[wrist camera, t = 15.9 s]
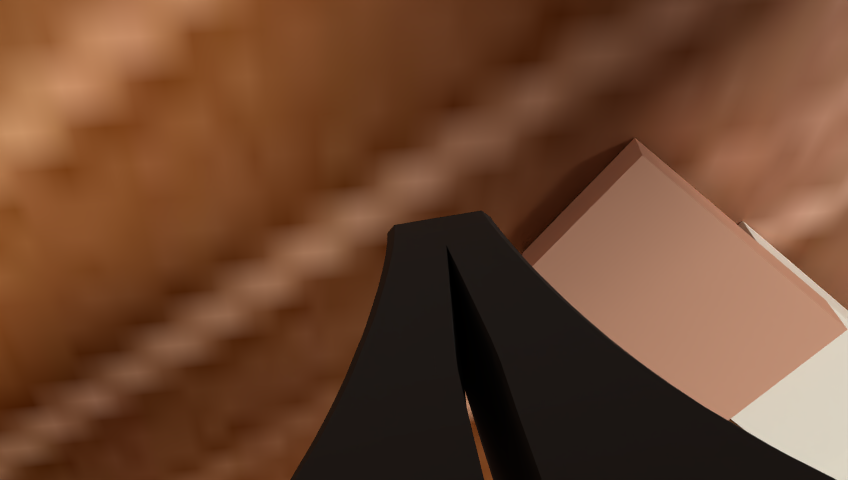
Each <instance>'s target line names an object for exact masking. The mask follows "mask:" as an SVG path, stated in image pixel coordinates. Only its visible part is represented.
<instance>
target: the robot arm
mask: <svg viewBox="0 0 848 480" xmlns="http://www.w3.org/2000/svg"><path fill="white" fill-rule="evenodd" d="M465 392H466V395H467V398H468V401H469V405H470V408H471V411H472V414H473V417H474V420H475V424H476V427H477V430H478V433H479V436H480V440H481V443H482V446H483V449H484V452H485V455H486V458H487V462H488V465H489V468H490V471H491V474H492V477H493V480H836V479H834V478H832V477H830V476H829V475H827V474H825V473H823V472H821V471H819V470H817V469H815V468H813V467H811V466H809V465H807V464H805V463H803V462H801V461H799V460H797V459H795V458H793V457H791V456H789V455H787V454H785V453H783V452H782V451H780V450H778V449H776V448H774V447H773V446H771V445H769V444H767V443H766V442H764V441H762V440H760V439H759V438H757V437H755V436H754V435H752V434H750V433H749V432H747V431H745V430H743V429H742V428H740V427H738V426H737V425H735V424H733V423H732V422H730V421H728V420H726V419H725V418H723V417H721V416H720V415H718V414H716V413H714V412H713V411H711V410H709V409H708V408H706V407H704V406H703V405H701V404H700V403H698V402H697V401H695V400H694V399H692V398H691V397H689V396H688V395H686V394H685V393H683V392H682V391H680V390H679V389H677V388H676V387H674V386H673V385H671V384H670V383H668V382H667V381H665V380H664V379H663V378H661V377H660V376H658V375H657V374H656V373H654V372H653V371H652V370H650V369H649V368H647V367H646V366H645V365H643V364H642V363H640V362H639V361H638V360H636V359H635V358H634V357H633V356H631V355H630V354H629V353H627V352H626V351H625V350H624V349H622V348H621V347H620V346H619V345H617V344H616V343H615V342H614V341H612V340H611V339H610V338H609V337H607V336H606V335H605V334H604V333H603V332H602V331H600V330H599V329H598V328H597V327H596V326H595V325H593V324H592V323H591V322H590V321H589V320H588V319H586V318H585V317H584V316H583V315H582V314H581V313H580V312H579V311H577V310H576V309H575V308H574V307H573V306H572V305H571V304H570V303H569V302H568V301H566V300H565V299H564V298H563V297H562V296H561V295H560V294H559V293H558V292H557V291H556V290H555V289H554V288H553V287H552V286H551V285H550V284H549V283H548V282H547V281H546V280H545V279H544V278H543V277H542V276H541V275H540V274H539V273H538V272H537V271H536V270H535V269H534V268H533V267H532V266H531V265H530V264H529V263H528V262H527V260H526V259H525V258H524V257H523V256H522V255H521V254H520V253H519V252H518V251H517V249H516V248H515V247H514V246H513V245H512V244H511V243H510V241H509V240H508V239H507V238H506V237H505V235H504V234H503V233H502V232H501V231H500V229H499V228H498V227H497V226H496V224H495V223H494V222H493V220H492V219H491V217H490V216H488V215H487V214H486V213H484V212H483V211H476V212H470V213H464V214H458V215H452V216H446V217H440V218H434V219H428V220H422V221H416V222H410V223H404V224H398V225H394V226H393V227H392V229H391V230H390V231H389V232H388V238H387V250H386V256H385V262H384V266H383V271H382V275H381V279H380V282H379V286H378V290H377V293H376V296H375V299H374V303H373V306H372V309H371V312H370V315H369V318H368V321H367V324H366V327H365V330H364V333H363V335H362V338H361V340H360V343H359V345H358V348H357V350H356V352H355V355H354V357H353V360H352V362H351V365H350V367H349V369H348V372H347V374H346V377H345V379H344V381H343V383H342V386H341V388H340V390H339V392H338V394H337V396H336V398H335V400H334V402H333V404H332V406H331V408H330V410H329V412H328V414H327V416H326V418H325V420H324V422H323V424H322V426H321V428H320V430H319V431H318V433H317V435H316V437H315V439H314V441H313V442H312V444H311V446H310V448H309V449H308V451H307V453H306V454H305V456H304V458H303V459H302V461H301V463H300V465H299V466H298V468H297V470H296V471H295V473H294V475H293V476H292V478H291V480H484V478H483V474H482V469H481V465H480V461H479V457H478V453H477V449H476V445H475V441H474V437H473V432H472V428H471V424H470V420H469V416H468V411H467V407H466V397H465Z"/></svg>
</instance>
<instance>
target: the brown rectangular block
mask: <svg viewBox="0 0 848 480" xmlns="http://www.w3.org/2000/svg"><path fill="white" fill-rule="evenodd" d="M522 256H523V257H524V258H525V259H526V260H527V262H528V263H529V264H530V265H531V266H532V267H533V268H534V269H535V270H536V271H537V272H538V273H539V274H540V275H541V276H542V277H543V278H544V279H545V280H546V281H547V282H548V283H549V284H550V285H551V286H552V287H553V288H554V289H555V290H556V291H557V292H558V293H559V294H560V295H561V296H562V297H563V298H564V299H565V300H566V301H568V302H569V303H570V304H571V305H572V306H573V307H574V308H575V309H576V310H577V311H579V312H580V313H581V314H582V315H583V316H584V317H585V318H586V319H588V320H589V321H590V322H591V323H592V324H593V325H595V326H596V327H597V328H598V329H599V330H600V331H602V332H603V333H604V334H605V335H606V336H607V337H609V338H610V339H611V340H612V341H614V342H615V343H616V344H617V345H619V346H620V347H621V348H622V349H624V350H625V351H626V352H627V353H629V354H630V355H631V356H633V357H634V358H635V359H636V360H638V361H639V362H640V363H642V364H643V365H645V366H646V367H647V368H649V369H650V370H652V371H653V372H654V373H656V374H657V375H658V376H660V377H661V378H663V379H664V380H665V381H667V382H668V383H670V384H671V385H673V386H674V387H676V388H677V389H679V390H680V391H682V392H683V393H685V394H686V395H688V396H689V397H691V398H692V399H694V400H695V401H697V402H698V403H700V404H701V405H703V406H704V407H706V408H708V409H709V410H711V411H713V412H714V413H716V414H718V415H720V416H721V417H723V418H725V419H726V420H730V419H731V418H732V417H734V416H735V415H736V414H737V413H739V412H740V411H741V410H743V409H744V408H745V407H747V406H748V405H749V404H751V403H752V402H753V401H755V400H756V399H757V398H758V397H760V396H761V395H762V394H764V393H765V392H766V391H768V390H769V389H770V388H772V387H773V386H774V385H776V384H777V383H778V382H779V381H781V380H782V379H783V378H785V377H786V376H787V375H789V374H790V373H791V372H793V371H794V370H795V369H797V368H798V367H799V366H800V365H802V364H803V363H804V362H806V361H807V360H808V359H810V358H811V357H812V356H814V355H815V354H816V353H818V352H819V351H820V350H821V349H823V348H824V347H825V346H827V345H828V344H829V343H831V342H832V341H833V340H835V339H836V338H837V337H839V336H840V335H841V334H842V333H844V332H845V331H846V330H848V329H847V328H846V326H845V325H844V324H843V322H842V321H841V320H840V318H839V317H838V316H837V314H836V313H835V312H834V310H833V309H832V308H831V306H830V305H829V304H828V302H827V301H826V300H825V299H824V298H823V297H822V296H820V295H819V294H818V293H817V292H816V291H814V290H813V289H812V288H811V287H810V286H809V285H807V284H806V283H805V282H804V281H803V280H802V279H800V278H799V277H798V276H797V275H796V274H795V273H793V272H792V271H791V270H790V269H789V268H787V267H786V266H785V265H784V264H783V263H782V262H780V261H779V260H778V259H777V258H776V257H775V256H773V255H772V254H771V253H770V252H769V251H767V250H766V249H765V248H764V247H763V246H762V245H760V244H759V243H758V242H757V241H756V240H755V239H753V238H752V237H751V236H750V235H749V234H748V233H746V232H745V231H744V230H743V229H742V228H740V227H739V226H738V225H737V224H736V223H735V222H733V221H732V220H731V219H730V218H729V217H728V216H726V215H725V214H724V213H723V212H722V211H720V210H719V209H718V208H717V207H716V206H715V205H713V204H712V203H711V202H710V201H709V200H708V199H706V198H705V197H704V196H703V195H702V194H701V193H699V192H698V191H697V190H696V189H695V188H693V187H692V186H691V185H690V184H689V183H688V182H686V181H685V180H684V179H683V178H682V177H681V176H679V175H678V174H677V173H676V172H675V171H673V170H672V169H671V168H670V167H669V166H668V165H666V164H665V163H664V162H663V161H662V160H661V159H659V158H658V157H657V156H656V155H655V154H654V153H652V152H651V151H650V150H649V149H648V148H646V147H645V146H644V145H643V144H642V143H641V142H639V141H638V140H637V139H636V138H634V139H633V140H632V141H631V142H630V143H629V144H628V145H627V146H626V147H625V148H624V149H623V150H622V151H621V152H620V153H619V154H618V155H617V156H616V157H615V158H614V159H613V161H612V162H611V163H610V164H609V165H608V166H607V167H606V168H605V169H604V170H603V171H602V172H601V173H600V174H599V175H598V176H597V177H596V178H595V179H594V180H593V181H592V182H591V183H590V184H589V185H588V186H587V187H586V188H585V189H584V190H583V191H582V192H581V193H580V194H579V195H578V196H577V197H576V199H575V200H574V201H573V202H572V203H571V204H570V205H569V206H568V207H567V208H566V209H565V210H564V211H563V212H562V213H561V214H560V215H559V216H558V217H557V218H556V219H555V220H554V221H553V222H552V223H551V224H550V225H549V226H548V227H547V228H546V229H545V230H544V231H543V232H542V233H541V234H540V236H539V237H538V238H537V239H536V240H535V241H534V242H533V243H532V244H531V245H530V246H529V247H528V248H527V249H526V250H525V251H524V252H523V253H522Z"/></svg>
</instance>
